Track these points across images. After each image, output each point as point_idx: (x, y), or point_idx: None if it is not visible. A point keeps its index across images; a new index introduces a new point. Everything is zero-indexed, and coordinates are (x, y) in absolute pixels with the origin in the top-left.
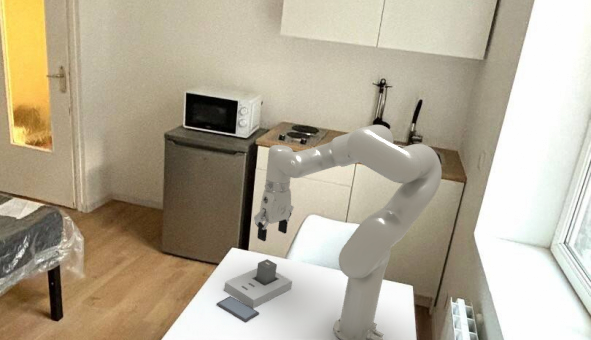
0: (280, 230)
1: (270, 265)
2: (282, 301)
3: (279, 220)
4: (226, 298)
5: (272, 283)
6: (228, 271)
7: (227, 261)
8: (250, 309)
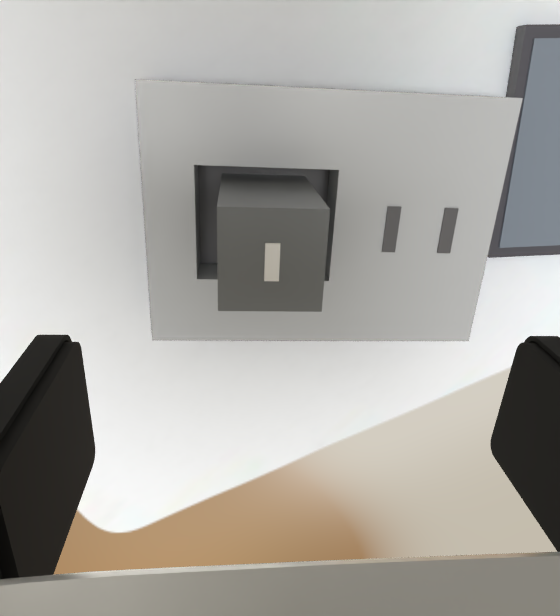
0: (86, 429)
1: (275, 227)
2: (299, 22)
3: (502, 580)
4: (520, 252)
5: (276, 154)
6: (293, 425)
7: (228, 487)
8: (534, 85)
